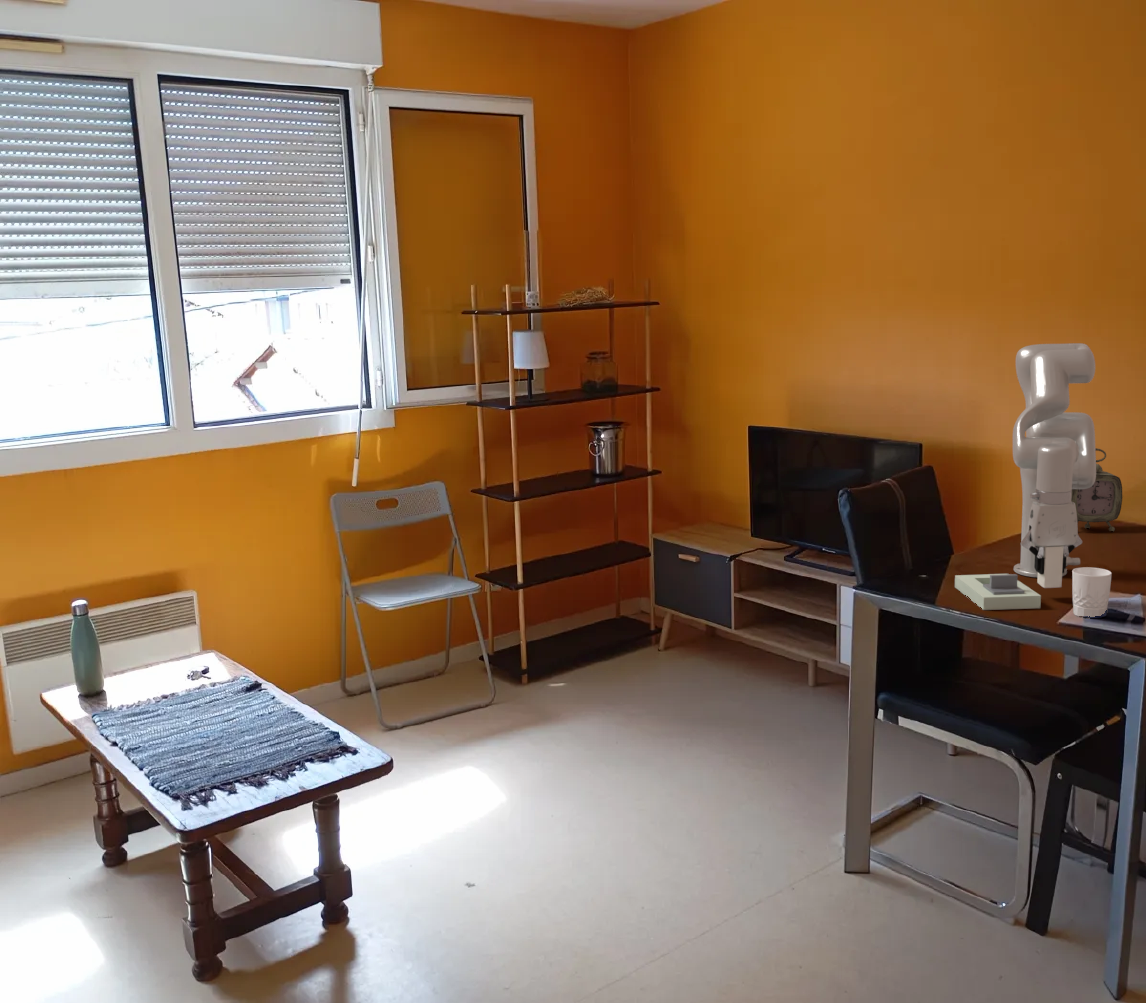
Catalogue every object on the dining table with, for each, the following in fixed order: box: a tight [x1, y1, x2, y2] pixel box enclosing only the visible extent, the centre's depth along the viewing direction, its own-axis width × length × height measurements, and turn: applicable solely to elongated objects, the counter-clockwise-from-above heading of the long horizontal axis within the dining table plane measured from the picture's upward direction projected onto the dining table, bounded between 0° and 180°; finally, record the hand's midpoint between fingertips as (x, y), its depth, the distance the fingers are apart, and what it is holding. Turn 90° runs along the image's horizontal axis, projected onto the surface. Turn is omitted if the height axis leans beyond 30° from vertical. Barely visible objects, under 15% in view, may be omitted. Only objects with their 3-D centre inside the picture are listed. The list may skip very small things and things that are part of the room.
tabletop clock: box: [1071, 447, 1123, 532], centre depth 312 cm, size 14×9×25 cm, turn 80°
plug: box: [1036, 546, 1064, 589], centre depth 245 cm, size 4×4×12 cm
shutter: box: [983, 573, 1024, 594], centre depth 245 cm, size 7×7×4 cm
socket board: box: [954, 573, 1042, 611], centre depth 250 cm, size 13×20×3 cm, turn 178°
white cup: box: [1071, 566, 1113, 617], centre depth 233 cm, size 8×8×10 cm
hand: (1049, 571), depth 246 cm, fingers closed on plug, 4 cm apart
